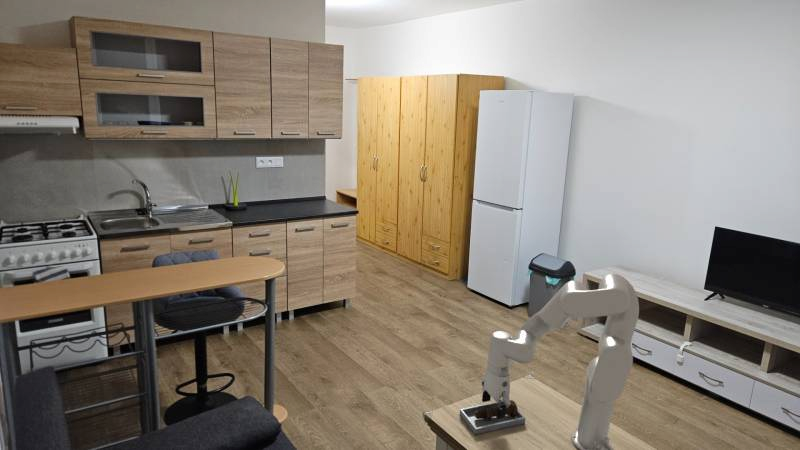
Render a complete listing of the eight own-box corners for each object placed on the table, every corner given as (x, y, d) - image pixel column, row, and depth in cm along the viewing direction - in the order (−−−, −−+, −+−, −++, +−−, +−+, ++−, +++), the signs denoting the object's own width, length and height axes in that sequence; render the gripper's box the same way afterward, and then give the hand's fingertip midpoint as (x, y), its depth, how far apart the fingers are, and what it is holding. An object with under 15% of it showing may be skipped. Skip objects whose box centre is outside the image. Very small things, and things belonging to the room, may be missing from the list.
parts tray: (524, 423, 185) (525, 417, 185) (475, 435, 178) (475, 429, 177) (507, 404, 195) (507, 399, 195) (459, 415, 188) (460, 409, 187)
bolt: (474, 422, 186) (512, 415, 190) (479, 424, 182) (518, 417, 186) (471, 405, 188) (510, 399, 191) (477, 406, 183) (516, 400, 187)
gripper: (521, 378, 174) (515, 422, 179) (494, 352, 190) (489, 393, 195) (502, 382, 172) (496, 426, 176) (476, 355, 187) (471, 396, 192)
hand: (493, 409), depth 185 cm, fingers open, 9 cm apart
